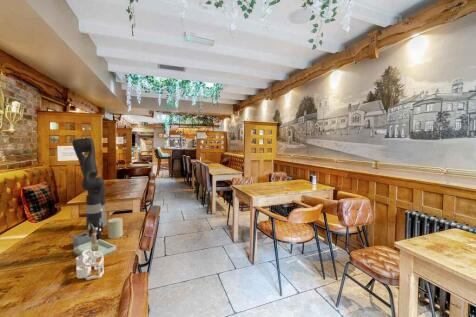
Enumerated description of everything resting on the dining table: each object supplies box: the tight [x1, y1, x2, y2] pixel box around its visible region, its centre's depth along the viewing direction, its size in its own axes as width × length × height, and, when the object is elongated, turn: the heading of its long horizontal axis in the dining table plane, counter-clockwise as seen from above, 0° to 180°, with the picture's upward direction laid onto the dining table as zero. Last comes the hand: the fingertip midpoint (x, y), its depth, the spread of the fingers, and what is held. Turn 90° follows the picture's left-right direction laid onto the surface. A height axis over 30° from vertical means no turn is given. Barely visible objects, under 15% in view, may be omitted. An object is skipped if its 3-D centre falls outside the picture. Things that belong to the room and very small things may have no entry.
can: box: [107, 217, 124, 240], centre depth 146 cm, size 9×9×12 cm
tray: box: [73, 238, 117, 262], centre depth 124 cm, size 14×20×3 cm
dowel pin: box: [91, 232, 98, 251], centre depth 124 cm, size 3×3×10 cm
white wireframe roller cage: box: [75, 249, 105, 281], centre depth 105 cm, size 20×11×7 cm, turn 39°
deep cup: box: [72, 232, 91, 248], centre depth 132 cm, size 7×7×6 cm
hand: (94, 237), depth 124 cm, fingers open, 8 cm apart
